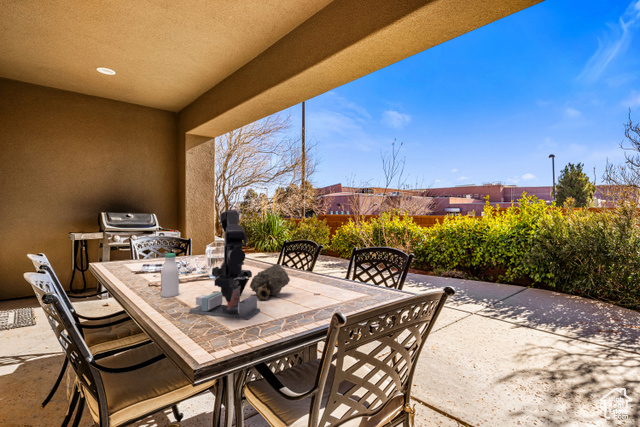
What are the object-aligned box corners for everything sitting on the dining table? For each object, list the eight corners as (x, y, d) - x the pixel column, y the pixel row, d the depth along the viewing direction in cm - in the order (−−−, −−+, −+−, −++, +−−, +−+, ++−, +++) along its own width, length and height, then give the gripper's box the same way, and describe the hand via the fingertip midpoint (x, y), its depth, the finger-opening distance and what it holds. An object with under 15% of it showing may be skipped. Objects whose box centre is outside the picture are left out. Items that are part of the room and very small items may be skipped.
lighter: (232, 310, 118) (233, 284, 118) (224, 309, 119) (225, 283, 119) (242, 304, 126) (242, 279, 126) (234, 303, 127) (234, 279, 127)
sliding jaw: (206, 302, 132) (206, 290, 132) (223, 304, 130) (223, 292, 130) (190, 309, 122) (191, 296, 122) (208, 311, 120) (208, 298, 120)
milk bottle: (182, 294, 150) (182, 253, 150) (169, 298, 143) (170, 255, 143) (169, 292, 153) (170, 252, 152) (156, 296, 145) (157, 254, 145)
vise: (204, 305, 132) (205, 291, 132) (260, 311, 125) (260, 296, 125) (189, 313, 122) (189, 297, 122) (248, 319, 116) (248, 303, 115)
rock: (275, 258, 157) (271, 257, 142) (294, 279, 155) (292, 281, 140) (247, 283, 154) (240, 284, 140) (266, 305, 153) (261, 309, 138)
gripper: (229, 255, 134) (229, 291, 134) (202, 262, 116) (201, 304, 116) (252, 257, 131) (252, 293, 131) (228, 264, 113) (228, 306, 113)
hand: (234, 299), depth 123 cm, fingers closed on lighter, 7 cm apart
